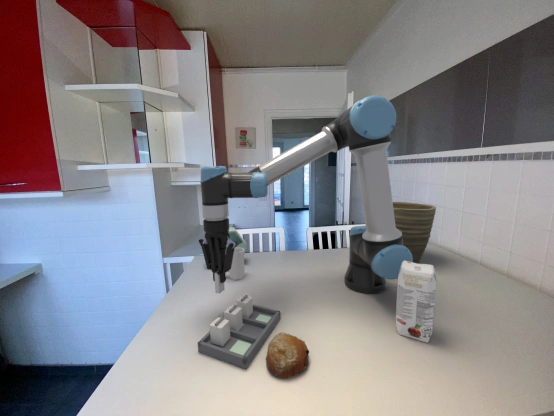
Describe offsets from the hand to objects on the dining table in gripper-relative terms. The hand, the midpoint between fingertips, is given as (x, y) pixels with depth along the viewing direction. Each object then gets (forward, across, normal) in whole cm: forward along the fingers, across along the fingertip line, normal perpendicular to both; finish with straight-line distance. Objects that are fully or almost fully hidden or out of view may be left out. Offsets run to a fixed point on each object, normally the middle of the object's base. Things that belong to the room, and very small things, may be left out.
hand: (220, 291), depth 74 cm
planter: (+8, +22, -34) cm, 41 cm away
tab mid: (+6, -9, +6) cm, 12 cm away
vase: (+7, -56, -68) cm, 88 cm away
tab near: (+6, -9, +12) cm, 16 cm away
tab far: (+6, -9, 0) cm, 11 cm away
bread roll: (+8, -27, +10) cm, 29 cm away
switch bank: (+7, -12, +6) cm, 15 cm away
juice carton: (+7, -55, -12) cm, 57 cm away
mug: (+8, +11, -23) cm, 27 cm away
